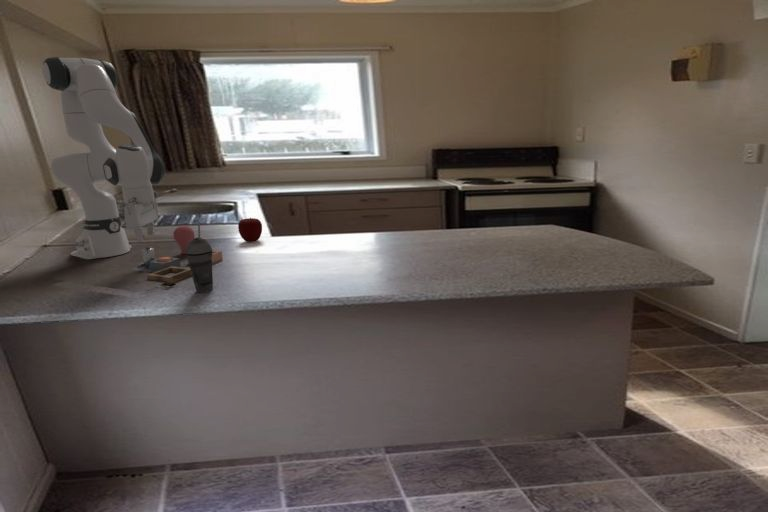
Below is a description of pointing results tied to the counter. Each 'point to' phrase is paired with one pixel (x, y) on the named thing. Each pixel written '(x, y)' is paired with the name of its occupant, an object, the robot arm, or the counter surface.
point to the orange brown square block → (215, 256)
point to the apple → (250, 229)
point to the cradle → (159, 265)
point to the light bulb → (183, 236)
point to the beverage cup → (200, 263)
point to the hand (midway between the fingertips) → (146, 237)
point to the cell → (148, 256)
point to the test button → (164, 259)
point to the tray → (173, 278)
